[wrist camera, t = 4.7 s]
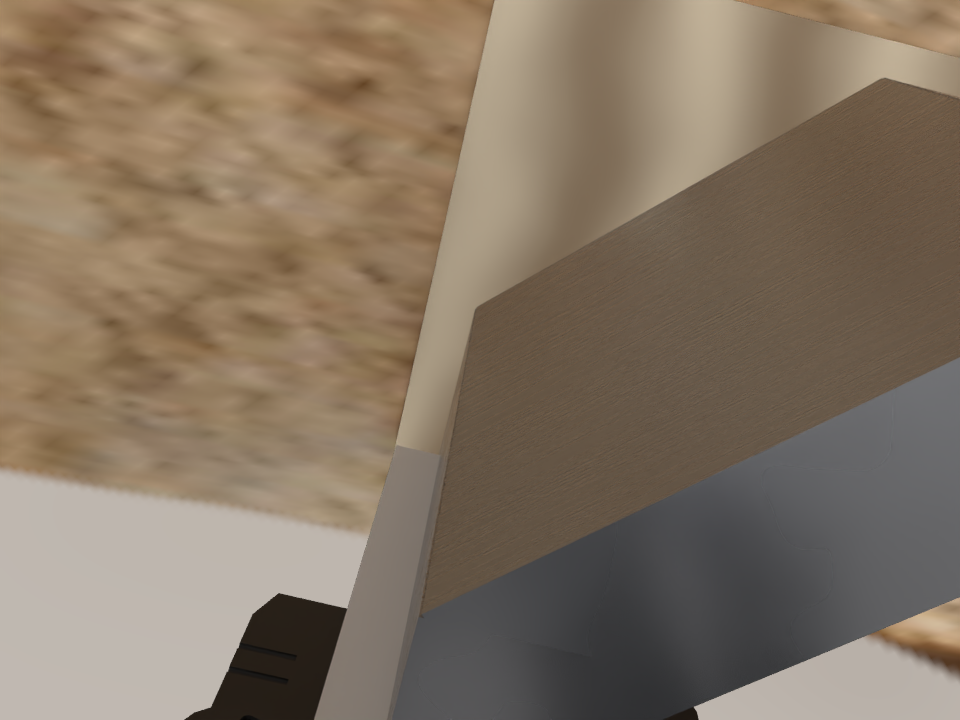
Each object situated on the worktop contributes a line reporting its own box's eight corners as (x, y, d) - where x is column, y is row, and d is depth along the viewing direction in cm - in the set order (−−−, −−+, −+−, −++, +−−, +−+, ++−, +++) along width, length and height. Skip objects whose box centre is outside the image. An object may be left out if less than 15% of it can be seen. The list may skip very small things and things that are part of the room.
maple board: (398, 438, 38) (393, 455, 36) (508, -56, 30) (507, -58, 29) (864, 547, 38) (876, 568, 37) (1081, 90, 31) (1106, 95, 30)
